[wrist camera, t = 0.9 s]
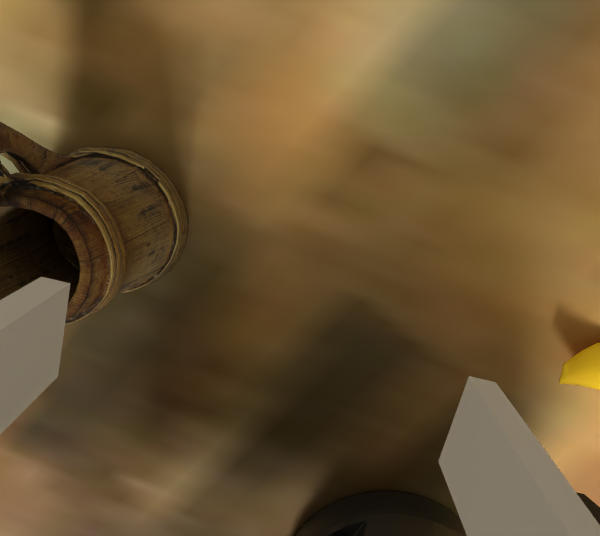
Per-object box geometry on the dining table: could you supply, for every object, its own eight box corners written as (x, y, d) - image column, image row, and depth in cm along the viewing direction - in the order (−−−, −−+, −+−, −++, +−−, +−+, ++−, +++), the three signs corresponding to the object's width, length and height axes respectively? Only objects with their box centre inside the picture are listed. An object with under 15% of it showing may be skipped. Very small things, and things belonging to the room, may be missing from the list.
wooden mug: (119, 50, 31) (-119, -46, 14) (208, 262, 34) (106, 401, 17) (-15, 105, 32) (-400, 80, 15) (84, 306, 35) (-135, 482, 18)
